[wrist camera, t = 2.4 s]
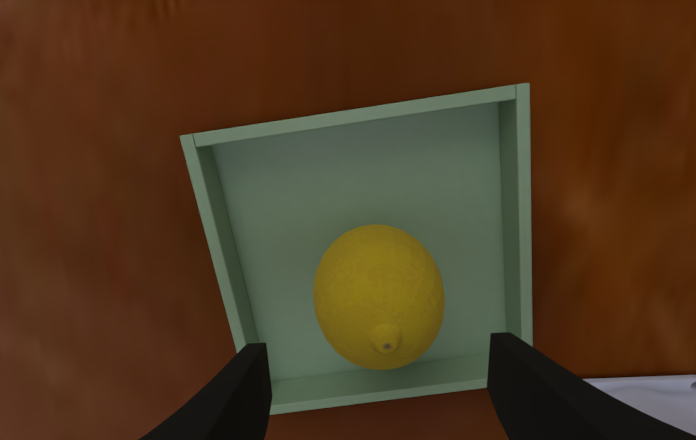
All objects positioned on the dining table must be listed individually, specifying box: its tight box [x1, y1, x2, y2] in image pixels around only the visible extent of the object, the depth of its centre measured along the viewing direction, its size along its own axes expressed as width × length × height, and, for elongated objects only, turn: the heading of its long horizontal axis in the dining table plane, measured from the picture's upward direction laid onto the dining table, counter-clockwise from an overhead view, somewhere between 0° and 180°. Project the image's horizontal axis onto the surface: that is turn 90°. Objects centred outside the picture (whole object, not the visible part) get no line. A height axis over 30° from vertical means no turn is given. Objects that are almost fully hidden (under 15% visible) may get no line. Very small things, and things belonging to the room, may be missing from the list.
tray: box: [180, 83, 533, 415], centre depth 19 cm, size 15×15×2 cm
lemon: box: [313, 224, 445, 370], centre depth 16 cm, size 6×6×8 cm
